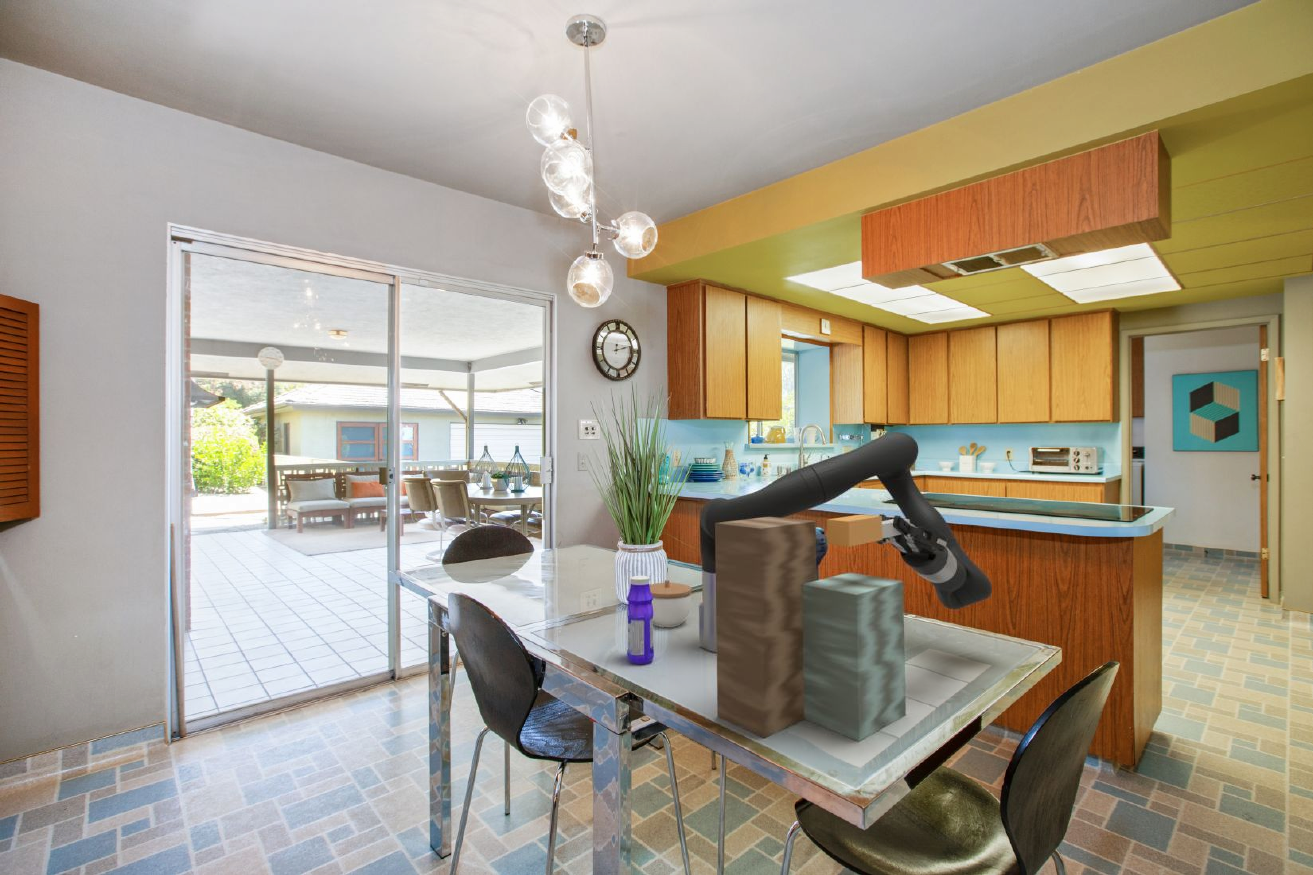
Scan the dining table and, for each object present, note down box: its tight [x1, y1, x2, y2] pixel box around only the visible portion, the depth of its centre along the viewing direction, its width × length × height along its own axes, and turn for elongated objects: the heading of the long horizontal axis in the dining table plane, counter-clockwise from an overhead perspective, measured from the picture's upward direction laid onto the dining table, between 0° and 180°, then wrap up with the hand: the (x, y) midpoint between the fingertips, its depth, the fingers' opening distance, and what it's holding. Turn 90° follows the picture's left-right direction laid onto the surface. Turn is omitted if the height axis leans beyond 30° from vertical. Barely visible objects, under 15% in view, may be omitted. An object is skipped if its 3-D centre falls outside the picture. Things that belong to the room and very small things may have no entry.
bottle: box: [626, 575, 655, 665], centre depth 127 cm, size 7×6×17 cm
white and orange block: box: [826, 514, 910, 548], centre depth 103 cm, size 21×4×4 cm, turn 130°
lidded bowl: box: [649, 579, 693, 629], centre depth 153 cm, size 13×13×11 cm
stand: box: [715, 517, 907, 742], centre depth 99 cm, size 24×20×32 cm
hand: (887, 519), depth 106 cm, fingers closed on white and orange block, 2 cm apart
